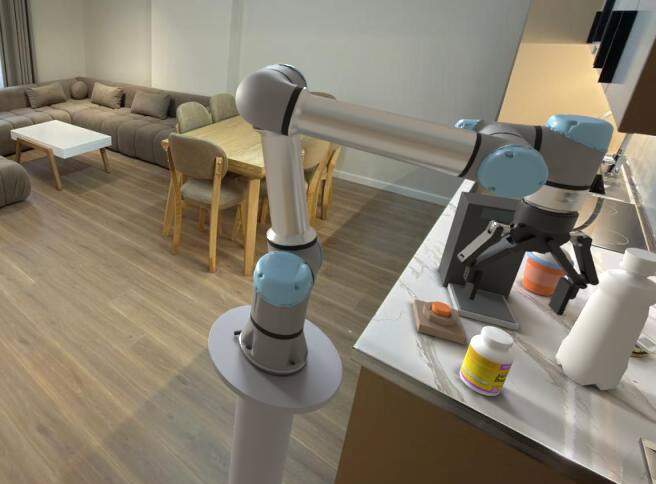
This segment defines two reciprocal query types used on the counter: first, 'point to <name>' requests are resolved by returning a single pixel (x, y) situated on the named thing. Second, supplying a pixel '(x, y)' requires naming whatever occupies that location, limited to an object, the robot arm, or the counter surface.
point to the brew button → (441, 309)
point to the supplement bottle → (488, 361)
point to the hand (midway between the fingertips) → (510, 302)
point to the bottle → (610, 323)
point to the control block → (438, 322)
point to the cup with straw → (543, 272)
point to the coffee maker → (497, 275)
